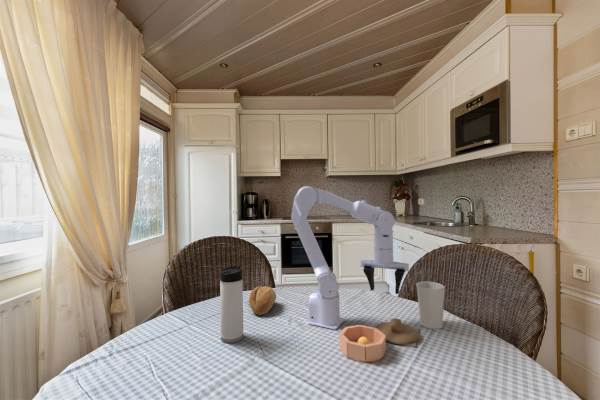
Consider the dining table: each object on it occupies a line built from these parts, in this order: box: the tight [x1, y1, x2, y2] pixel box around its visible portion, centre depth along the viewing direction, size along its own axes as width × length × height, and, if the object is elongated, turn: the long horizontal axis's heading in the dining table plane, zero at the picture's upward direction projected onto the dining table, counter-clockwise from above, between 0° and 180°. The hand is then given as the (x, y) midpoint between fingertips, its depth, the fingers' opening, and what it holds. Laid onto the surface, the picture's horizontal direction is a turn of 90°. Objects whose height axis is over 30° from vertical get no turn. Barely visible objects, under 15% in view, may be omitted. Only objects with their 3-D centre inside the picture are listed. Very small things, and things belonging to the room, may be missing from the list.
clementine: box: [358, 337, 370, 345], centre depth 69 cm, size 3×3×3 cm
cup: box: [415, 281, 446, 330], centre depth 84 cm, size 8×8×12 cm
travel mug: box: [219, 264, 244, 344], centre depth 78 cm, size 6×7×20 cm
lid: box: [374, 317, 420, 345], centre depth 78 cm, size 12×12×4 cm
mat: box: [380, 321, 420, 348], centre depth 78 cm, size 11×11×1 cm
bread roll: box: [248, 285, 277, 316], centre depth 99 cm, size 10×15×8 cm, turn 179°
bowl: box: [338, 324, 387, 363], centre depth 70 cm, size 11×11×4 cm
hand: (384, 291), depth 86 cm, fingers open, 7 cm apart
